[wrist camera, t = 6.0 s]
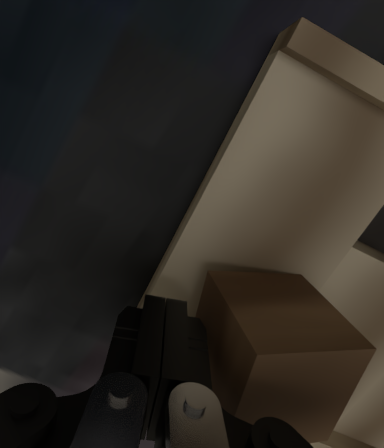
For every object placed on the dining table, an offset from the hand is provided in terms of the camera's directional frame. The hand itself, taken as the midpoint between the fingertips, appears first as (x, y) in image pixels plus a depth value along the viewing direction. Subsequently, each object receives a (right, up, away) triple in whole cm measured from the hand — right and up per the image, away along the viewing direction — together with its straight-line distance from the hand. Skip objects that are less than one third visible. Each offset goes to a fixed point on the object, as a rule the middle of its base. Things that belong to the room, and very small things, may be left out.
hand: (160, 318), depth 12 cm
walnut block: (+3, 0, +2) cm, 4 cm away
